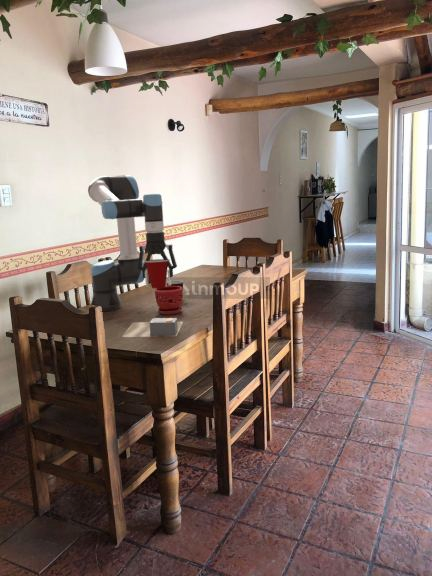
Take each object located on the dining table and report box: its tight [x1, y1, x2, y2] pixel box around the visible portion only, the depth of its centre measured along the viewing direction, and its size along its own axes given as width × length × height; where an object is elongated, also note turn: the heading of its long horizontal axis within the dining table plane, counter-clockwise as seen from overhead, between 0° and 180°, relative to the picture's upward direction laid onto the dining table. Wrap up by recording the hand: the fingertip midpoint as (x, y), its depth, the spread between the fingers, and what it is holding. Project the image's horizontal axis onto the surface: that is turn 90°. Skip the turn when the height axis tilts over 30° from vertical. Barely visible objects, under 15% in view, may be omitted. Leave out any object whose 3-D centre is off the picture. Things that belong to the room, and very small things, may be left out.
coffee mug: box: [166, 279, 184, 297], centre depth 251 cm, size 12×9×10 cm
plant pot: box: [154, 285, 184, 315], centre depth 228 cm, size 13×13×12 cm
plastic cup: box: [143, 258, 171, 290], centre depth 201 cm, size 11×11×12 cm
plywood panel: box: [121, 321, 184, 338], centre depth 199 cm, size 22×20×2 cm
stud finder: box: [149, 317, 178, 337], centre depth 191 cm, size 10×6×6 cm, turn 86°
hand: (158, 285), depth 202 cm, fingers closed on plastic cup, 9 cm apart
